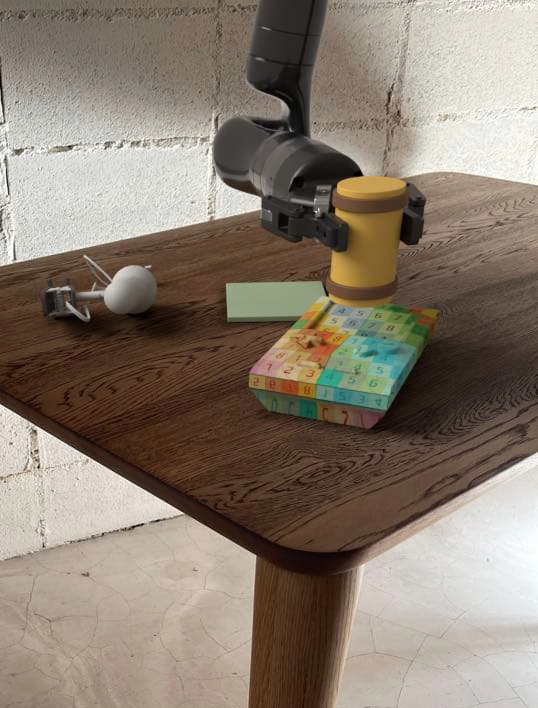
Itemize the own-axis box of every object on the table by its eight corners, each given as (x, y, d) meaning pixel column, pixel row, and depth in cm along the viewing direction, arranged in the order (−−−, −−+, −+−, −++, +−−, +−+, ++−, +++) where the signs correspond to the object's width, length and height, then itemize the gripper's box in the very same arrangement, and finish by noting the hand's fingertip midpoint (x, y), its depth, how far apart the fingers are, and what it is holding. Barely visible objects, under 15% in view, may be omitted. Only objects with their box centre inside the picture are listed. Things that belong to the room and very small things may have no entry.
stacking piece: (390, 284, 75) (403, 173, 70) (402, 308, 70) (417, 191, 65) (321, 286, 75) (329, 176, 70) (329, 310, 71) (338, 194, 66)
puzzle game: (249, 363, 72) (321, 287, 87) (247, 414, 75) (318, 332, 89) (390, 385, 68) (442, 301, 82) (383, 438, 70) (435, 348, 85)
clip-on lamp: (78, 309, 107) (34, 331, 91) (71, 255, 105) (25, 267, 88) (172, 301, 104) (145, 322, 88) (168, 245, 102) (139, 257, 86)
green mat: (321, 286, 101) (321, 280, 101) (332, 320, 92) (332, 315, 92) (226, 288, 102) (226, 283, 102) (227, 322, 93) (227, 317, 93)
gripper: (235, 150, 78) (293, 193, 65) (388, 136, 80) (476, 176, 66) (234, 235, 83) (288, 293, 69) (379, 221, 84) (460, 274, 70)
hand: (380, 235), depth 67 cm, fingers closed on stacking piece, 5 cm apart
